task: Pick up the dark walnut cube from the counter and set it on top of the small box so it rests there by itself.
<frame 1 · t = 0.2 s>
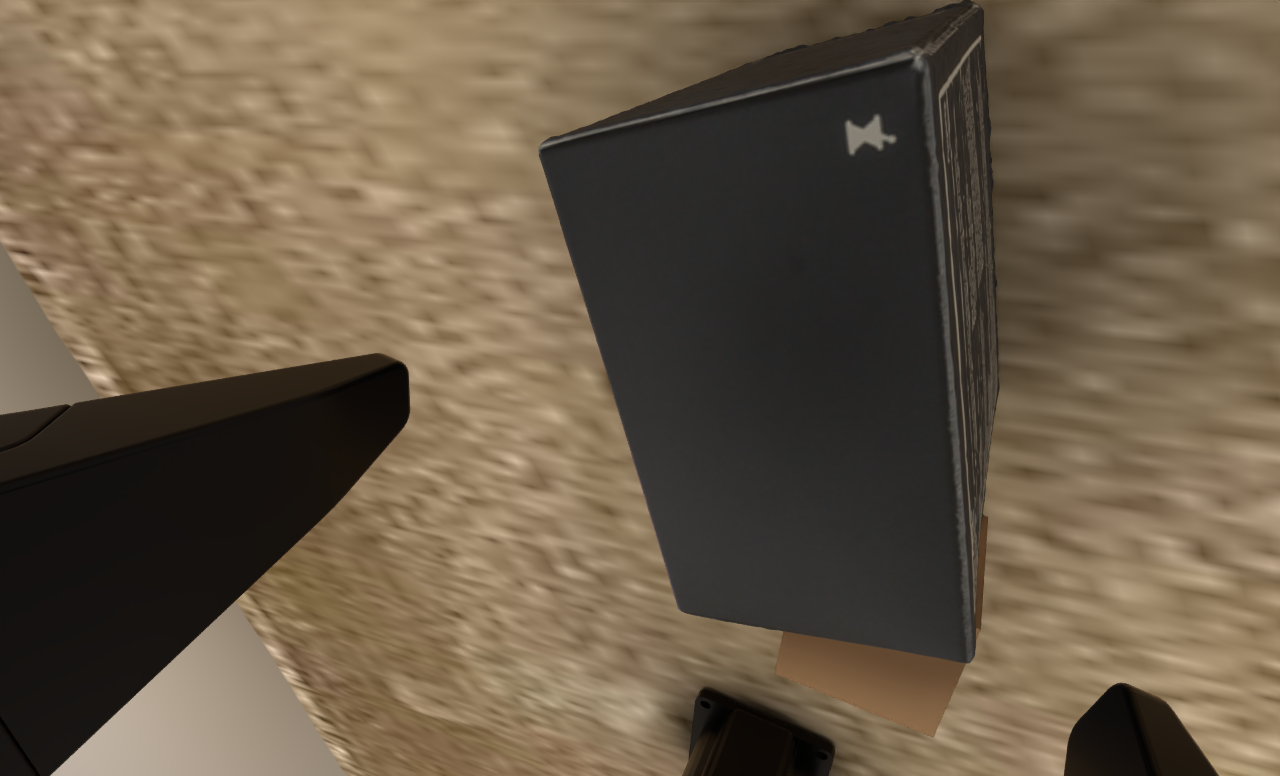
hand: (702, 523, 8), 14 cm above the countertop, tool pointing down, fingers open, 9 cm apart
small box: (869, 231, 20), on the countertop
block: (891, 546, 25), on the countertop
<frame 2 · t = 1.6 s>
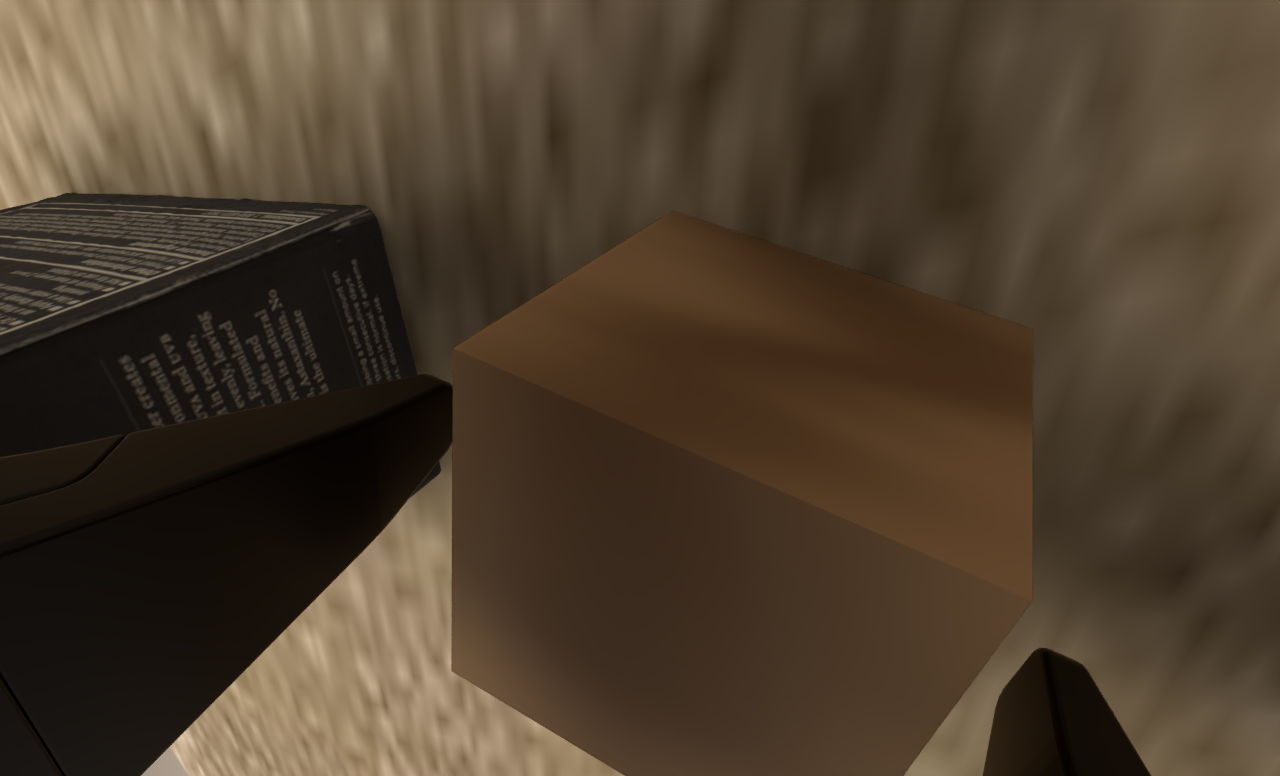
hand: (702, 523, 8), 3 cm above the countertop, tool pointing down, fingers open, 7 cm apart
small box: (261, 326, 17), on the countertop
block: (789, 409, 11), on the countertop
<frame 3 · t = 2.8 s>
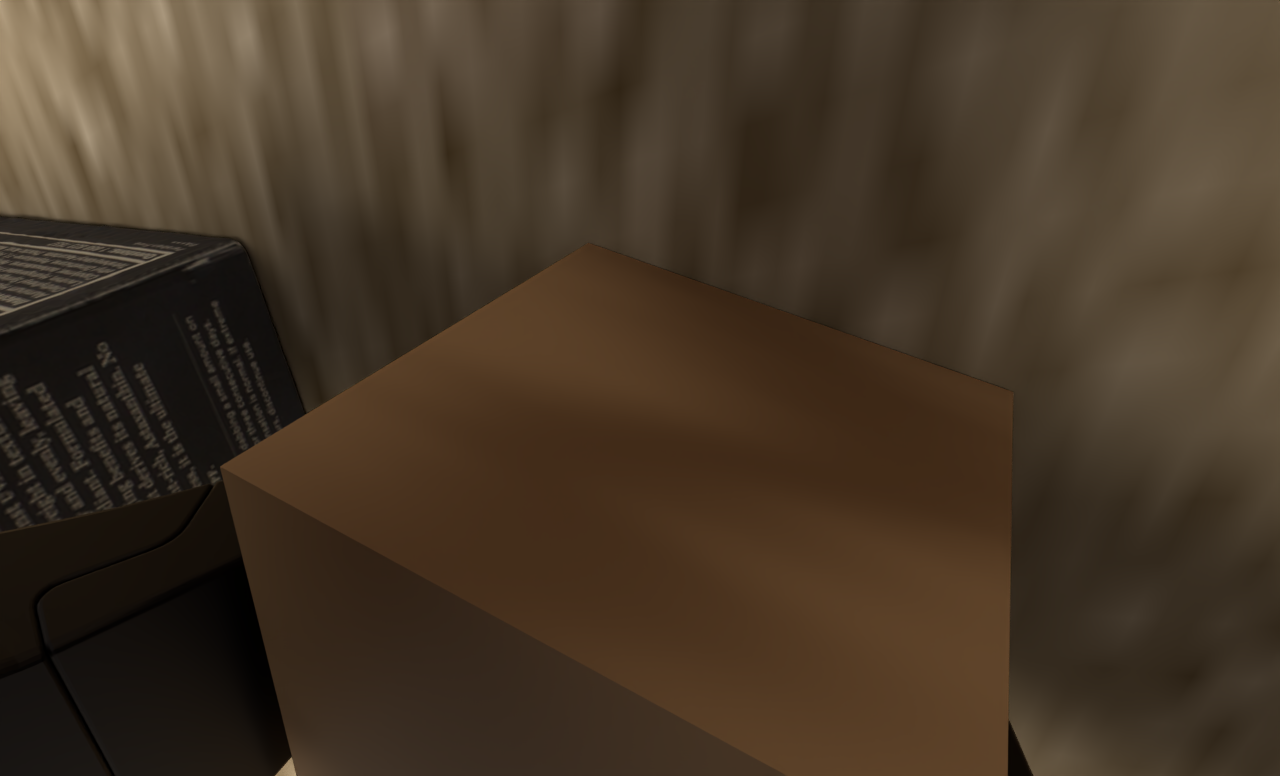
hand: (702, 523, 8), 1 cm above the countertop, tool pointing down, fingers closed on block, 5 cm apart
small box: (145, 361, 15), on the countertop
block: (730, 475, 9), on the countertop, touching gripper
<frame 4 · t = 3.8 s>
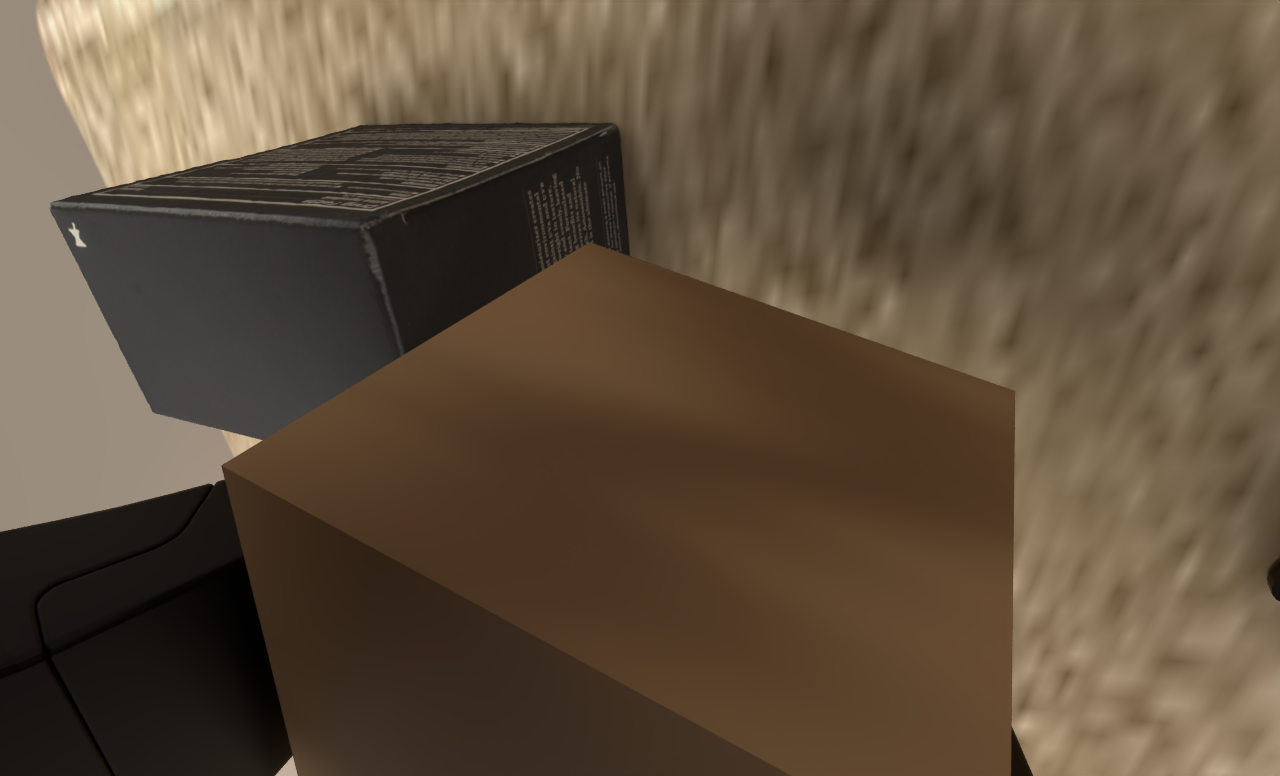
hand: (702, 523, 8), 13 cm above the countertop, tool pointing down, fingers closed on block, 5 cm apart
small box: (498, 218, 24), on the countertop
block: (731, 475, 9), point 12 cm above the countertop, touching gripper
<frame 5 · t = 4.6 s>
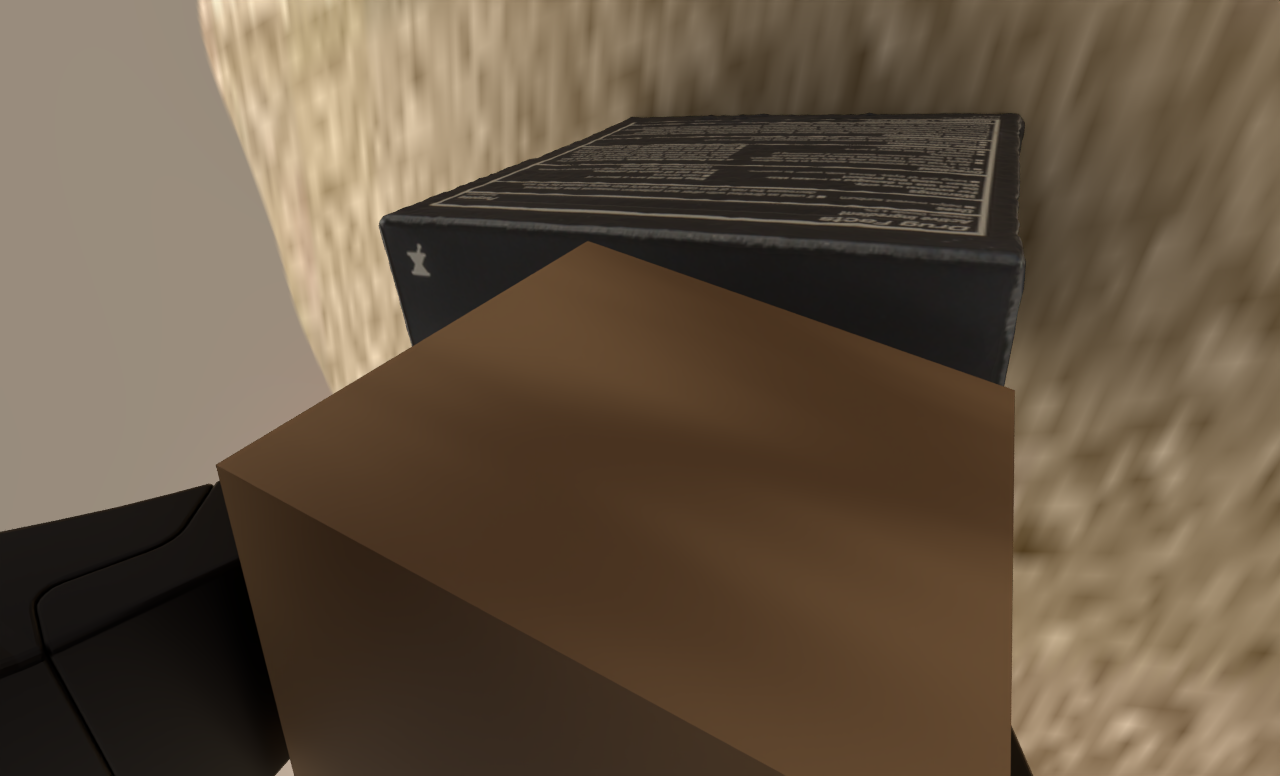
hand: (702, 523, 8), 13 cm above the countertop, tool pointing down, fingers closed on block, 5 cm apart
small box: (801, 230, 20), on the countertop
block: (730, 474, 9), point 12 cm above the countertop, touching gripper
when the fingers open (12 cm above the countertop, at t = 5.3 s): block stays where it is, resting on small box.
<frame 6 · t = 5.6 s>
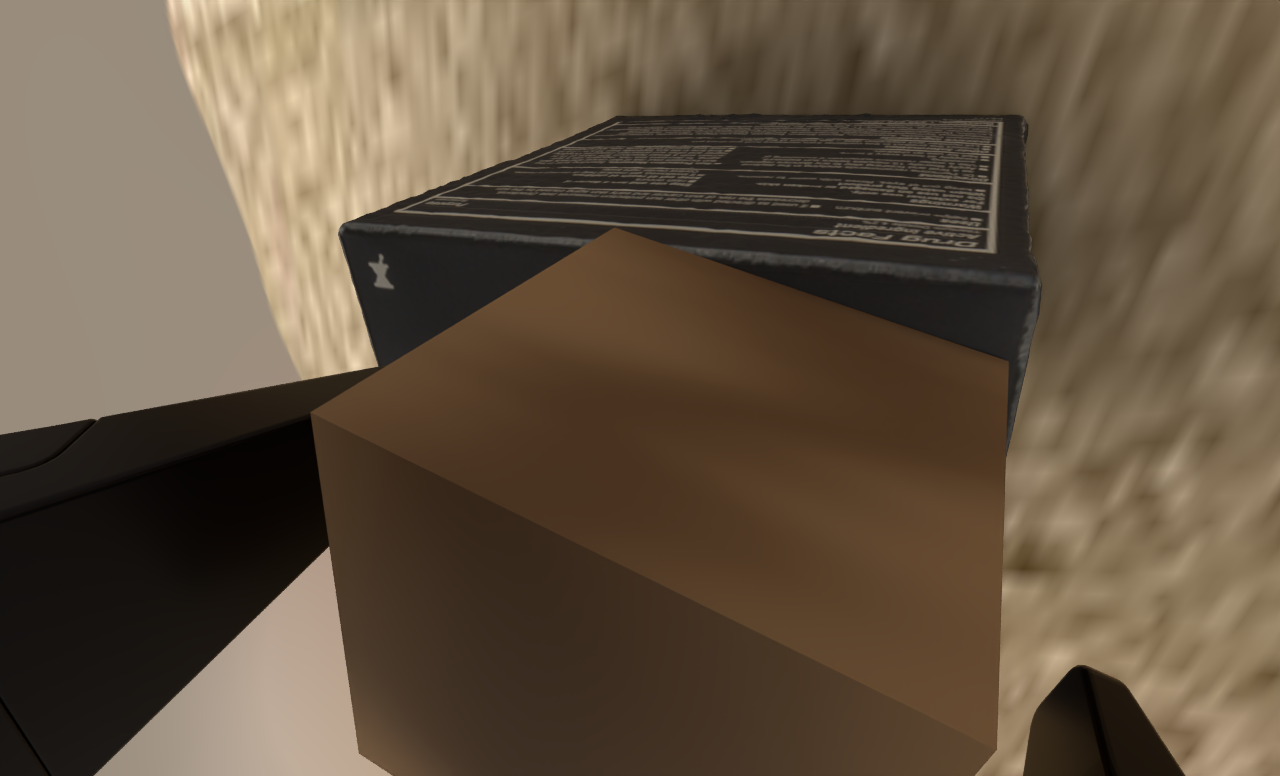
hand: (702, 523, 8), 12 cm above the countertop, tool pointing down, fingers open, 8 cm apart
small box: (793, 235, 19), on the countertop, touching block
block: (745, 446, 10), point 10 cm above the countertop, touching small box
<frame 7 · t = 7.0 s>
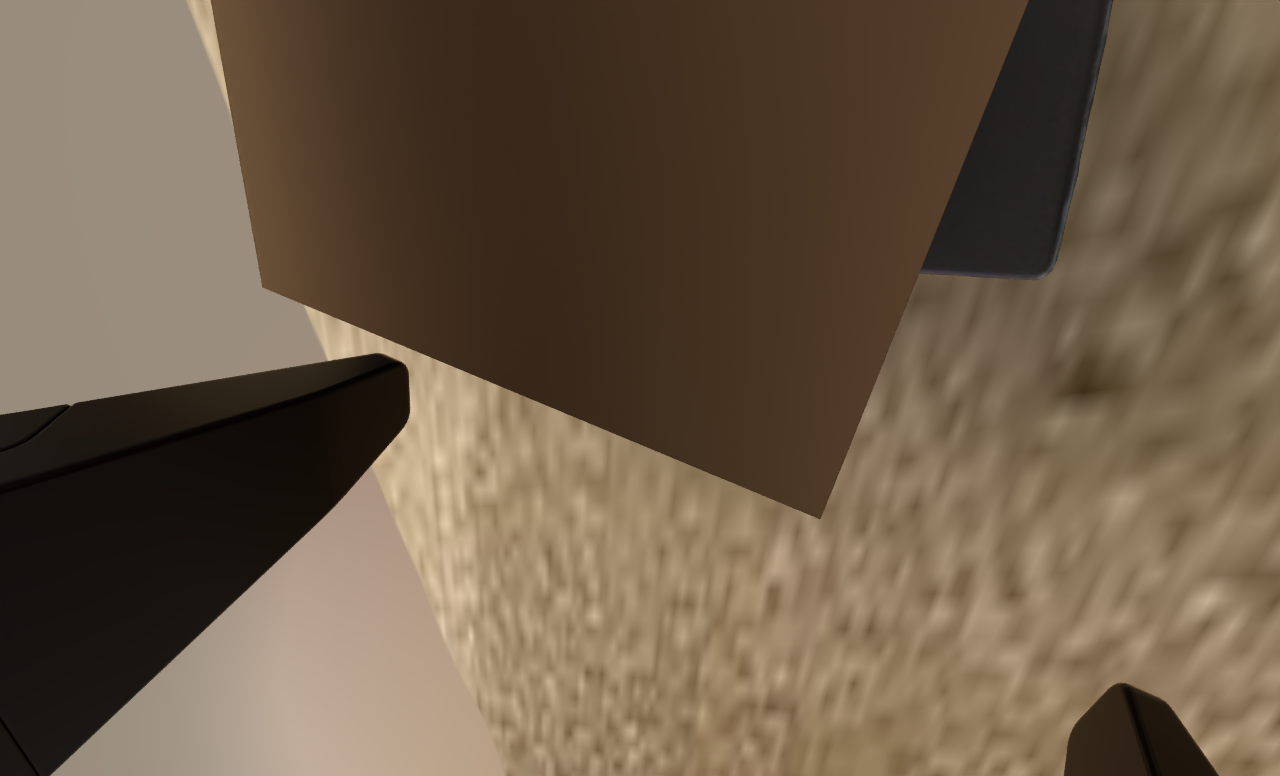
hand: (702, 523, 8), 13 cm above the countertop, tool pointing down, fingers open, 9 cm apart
small box: (815, 8, 17), on the countertop, touching block
block: (768, 3, 8), point 10 cm above the countertop, touching small box
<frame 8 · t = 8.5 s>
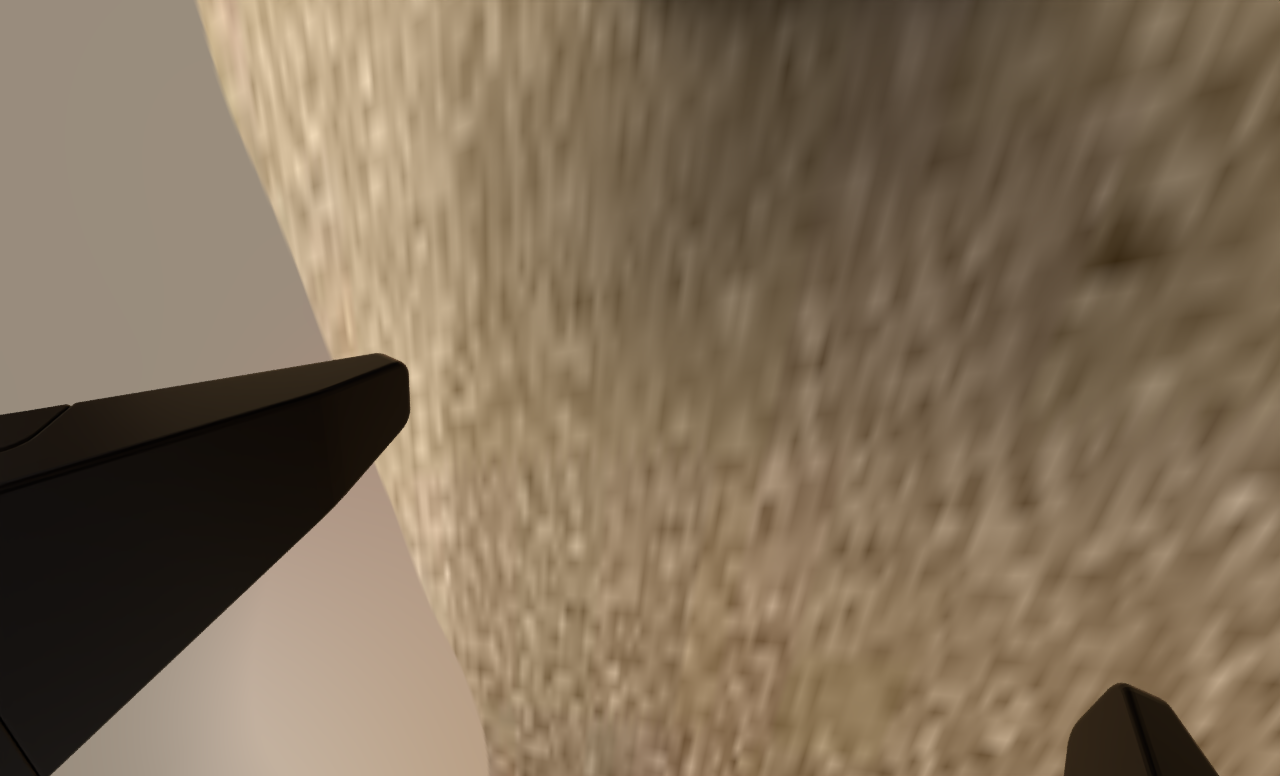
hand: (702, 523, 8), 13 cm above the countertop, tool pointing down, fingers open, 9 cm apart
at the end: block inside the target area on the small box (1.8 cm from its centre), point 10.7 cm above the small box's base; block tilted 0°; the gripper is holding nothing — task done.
